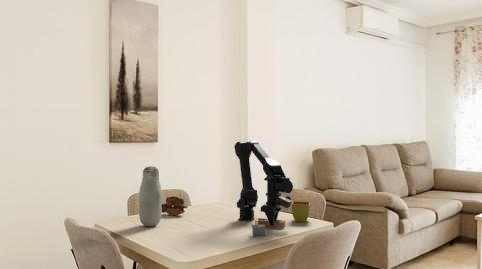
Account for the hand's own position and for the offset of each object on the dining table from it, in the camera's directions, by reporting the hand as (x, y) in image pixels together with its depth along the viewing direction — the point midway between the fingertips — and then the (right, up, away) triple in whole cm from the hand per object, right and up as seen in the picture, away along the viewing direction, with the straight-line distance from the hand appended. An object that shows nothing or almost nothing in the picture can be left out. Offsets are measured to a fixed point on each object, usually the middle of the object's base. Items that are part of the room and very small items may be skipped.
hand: (273, 224), depth 190 cm
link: (-1, -1, +1) cm, 2 cm away
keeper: (-7, -1, -15) cm, 17 cm away
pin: (-8, -1, -4) cm, 9 cm away
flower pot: (+15, -1, +13) cm, 20 cm away
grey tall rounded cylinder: (-57, -1, +1) cm, 57 cm away
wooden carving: (-51, -1, +27) cm, 58 cm away
